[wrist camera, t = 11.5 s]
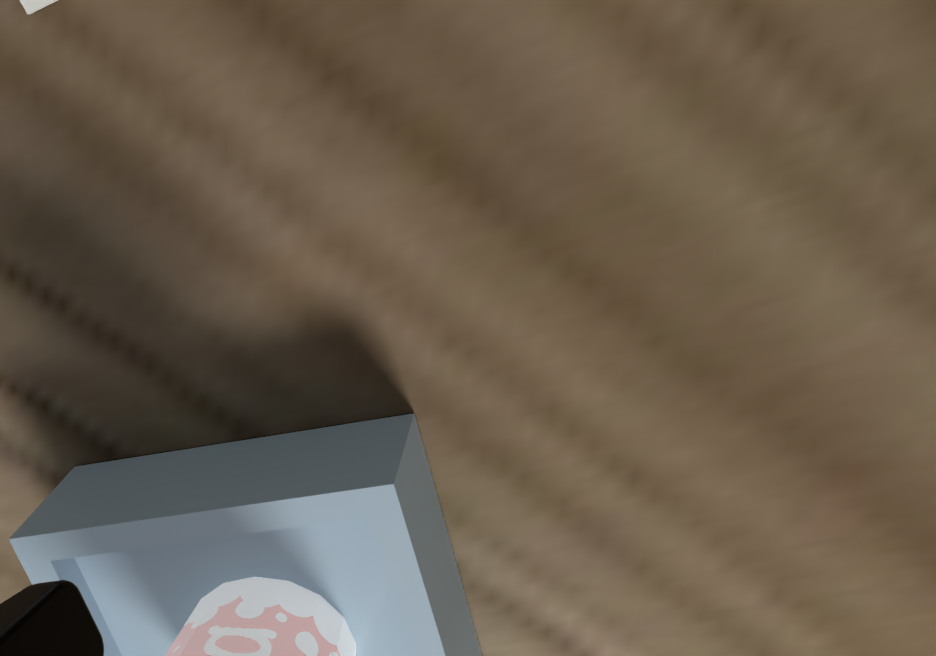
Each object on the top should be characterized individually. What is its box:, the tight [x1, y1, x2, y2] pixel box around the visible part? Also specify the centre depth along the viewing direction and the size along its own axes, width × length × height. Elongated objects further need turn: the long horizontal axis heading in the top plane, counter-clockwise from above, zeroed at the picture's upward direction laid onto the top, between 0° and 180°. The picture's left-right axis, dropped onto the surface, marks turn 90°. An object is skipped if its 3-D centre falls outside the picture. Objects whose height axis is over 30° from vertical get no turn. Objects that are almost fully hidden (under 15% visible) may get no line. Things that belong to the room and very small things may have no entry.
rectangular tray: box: [9, 413, 482, 656], centre depth 24 cm, size 10×10×3 cm
